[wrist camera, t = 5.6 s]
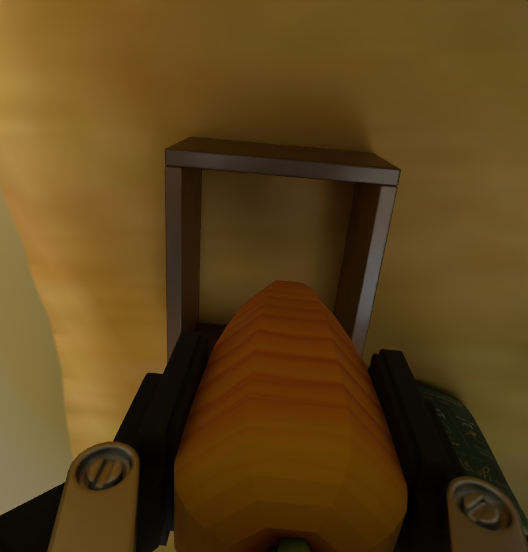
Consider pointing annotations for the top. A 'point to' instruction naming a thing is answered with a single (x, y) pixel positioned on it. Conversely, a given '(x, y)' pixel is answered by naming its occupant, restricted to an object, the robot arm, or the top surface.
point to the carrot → (287, 439)
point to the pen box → (280, 162)
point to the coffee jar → (470, 444)
